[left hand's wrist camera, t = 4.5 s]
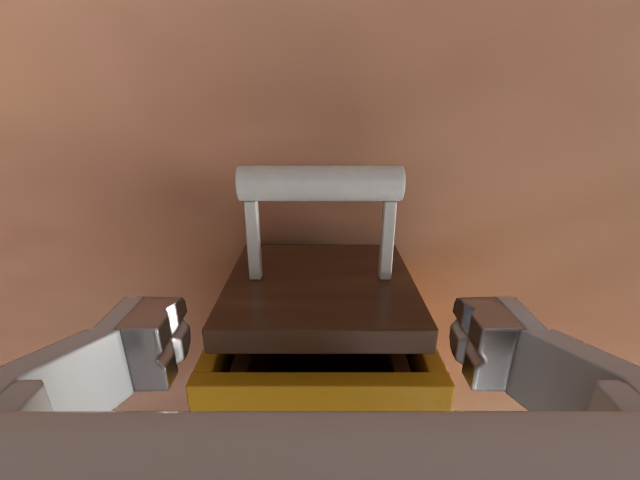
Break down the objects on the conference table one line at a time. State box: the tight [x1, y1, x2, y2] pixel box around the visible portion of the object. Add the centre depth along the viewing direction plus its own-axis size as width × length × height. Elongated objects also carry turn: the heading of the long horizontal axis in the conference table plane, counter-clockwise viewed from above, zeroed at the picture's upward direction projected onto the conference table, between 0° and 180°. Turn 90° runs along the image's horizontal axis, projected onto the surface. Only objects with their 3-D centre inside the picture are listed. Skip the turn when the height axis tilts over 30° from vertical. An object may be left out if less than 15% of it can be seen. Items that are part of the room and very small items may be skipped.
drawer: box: [202, 165, 439, 372], centre depth 21 cm, size 24×10×9 cm, turn 0°
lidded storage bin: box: [186, 348, 455, 411], centre depth 23 cm, size 19×11×11 cm, turn 0°
